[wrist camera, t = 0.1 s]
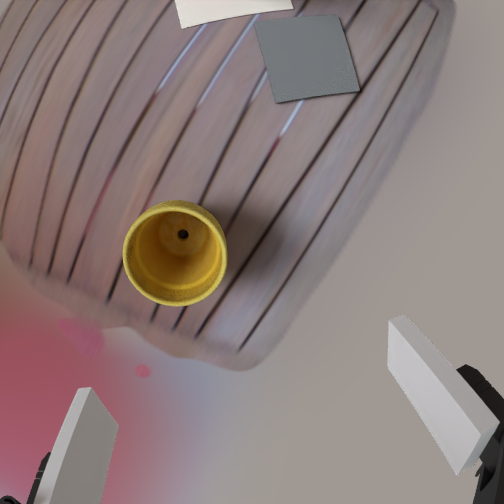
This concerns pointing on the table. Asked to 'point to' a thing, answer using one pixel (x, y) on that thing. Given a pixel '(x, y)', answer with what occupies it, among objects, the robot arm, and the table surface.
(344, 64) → the slate coaster
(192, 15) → the tile
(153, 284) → the plant pot
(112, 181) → the table surface
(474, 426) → the robot arm
